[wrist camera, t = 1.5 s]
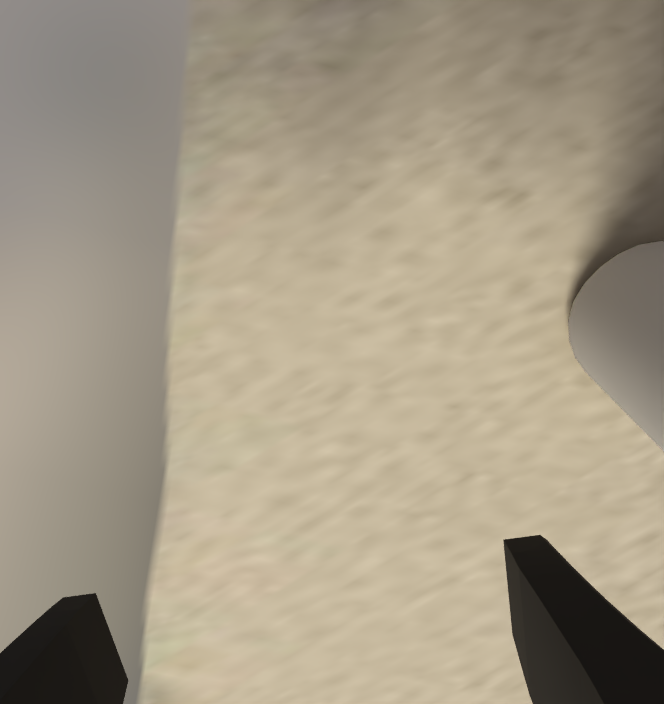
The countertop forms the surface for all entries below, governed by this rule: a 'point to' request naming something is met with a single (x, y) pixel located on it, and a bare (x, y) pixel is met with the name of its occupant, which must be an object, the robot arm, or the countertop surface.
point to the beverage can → (625, 333)
